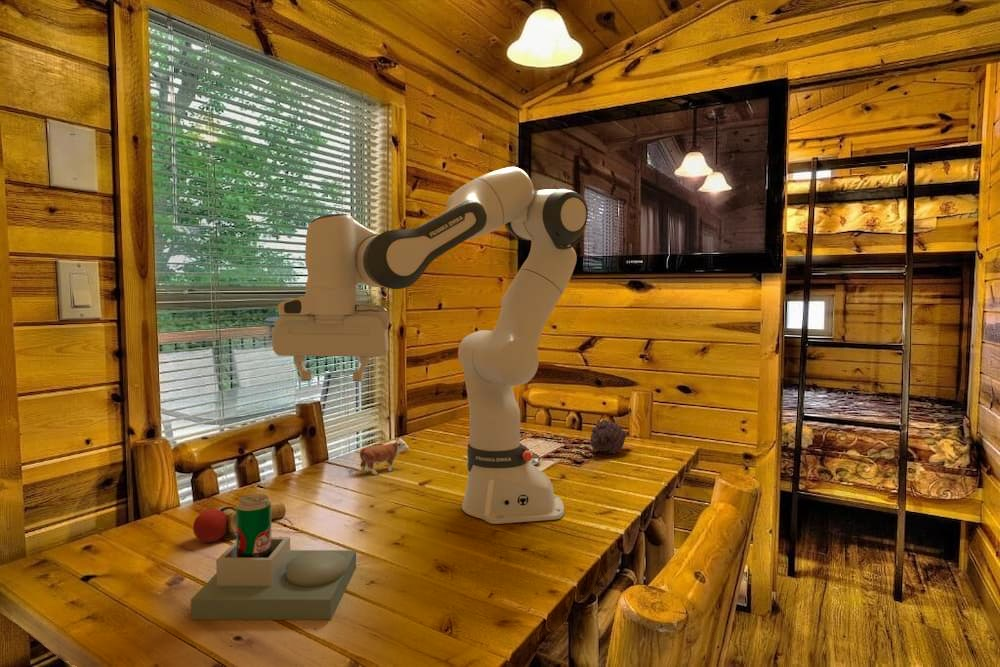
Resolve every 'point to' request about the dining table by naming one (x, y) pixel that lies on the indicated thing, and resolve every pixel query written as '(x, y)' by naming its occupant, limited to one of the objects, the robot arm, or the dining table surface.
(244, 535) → the soda can
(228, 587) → the grey desk organizer tray
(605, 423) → the pine cone
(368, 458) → the bull figurine
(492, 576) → the dining table surface
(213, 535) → the kendama
